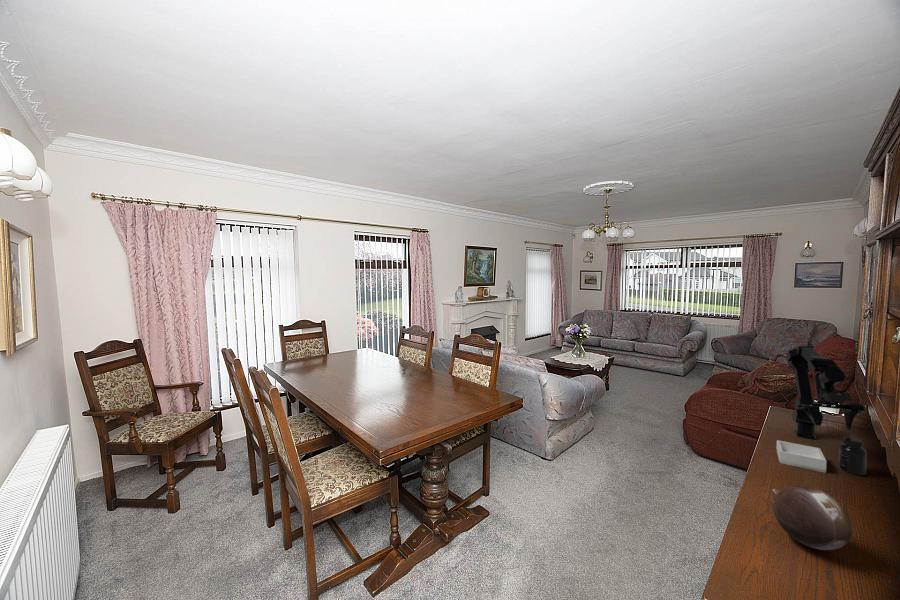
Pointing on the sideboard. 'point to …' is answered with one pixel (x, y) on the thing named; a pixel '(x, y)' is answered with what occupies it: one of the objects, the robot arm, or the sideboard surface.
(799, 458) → the tray
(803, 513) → the dark glossy egg
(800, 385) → the robot arm
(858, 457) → the supplement bottle
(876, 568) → the sideboard surface
